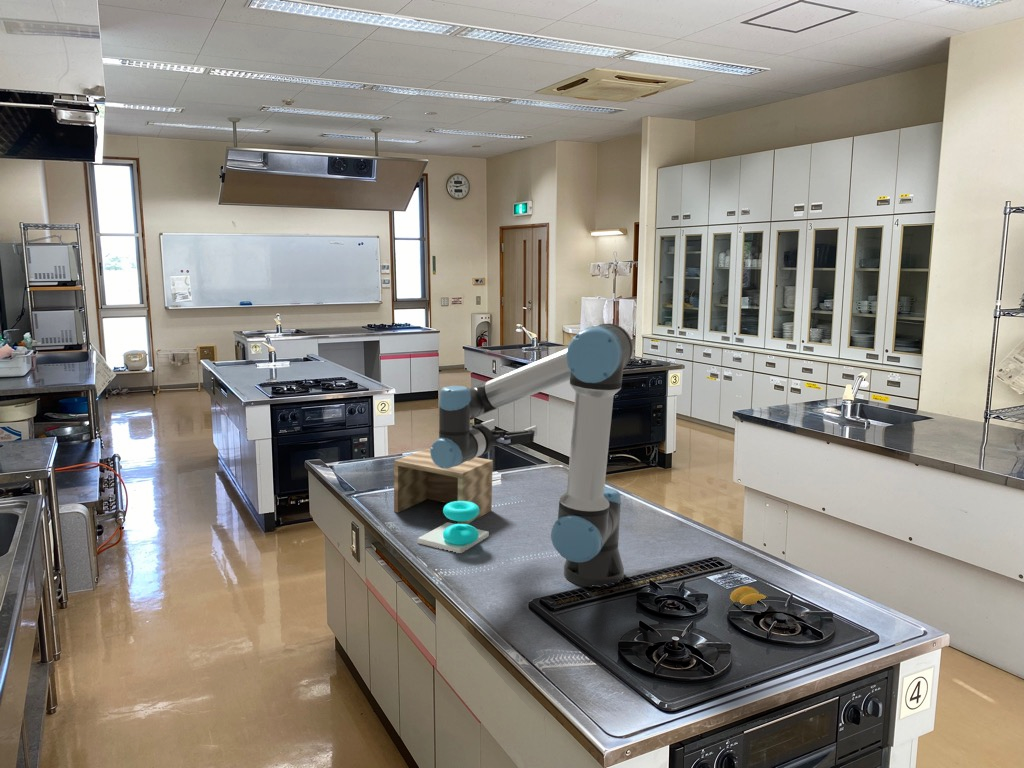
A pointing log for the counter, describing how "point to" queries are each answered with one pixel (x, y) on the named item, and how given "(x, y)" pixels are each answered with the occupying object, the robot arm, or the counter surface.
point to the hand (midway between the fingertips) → (514, 427)
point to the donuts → (461, 532)
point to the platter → (437, 541)
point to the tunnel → (442, 482)
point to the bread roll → (746, 595)
